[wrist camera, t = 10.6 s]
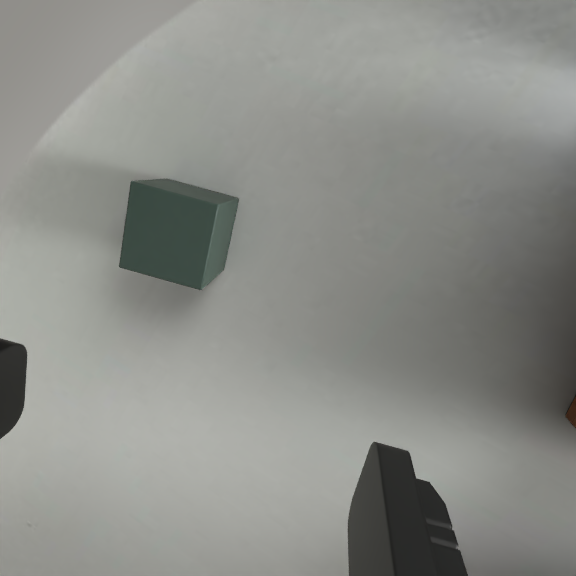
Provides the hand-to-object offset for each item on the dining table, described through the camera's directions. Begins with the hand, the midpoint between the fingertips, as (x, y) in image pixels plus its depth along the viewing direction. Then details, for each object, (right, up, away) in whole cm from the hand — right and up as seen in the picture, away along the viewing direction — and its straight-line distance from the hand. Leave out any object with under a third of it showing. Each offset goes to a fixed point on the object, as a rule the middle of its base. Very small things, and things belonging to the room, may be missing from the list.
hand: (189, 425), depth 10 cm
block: (-3, +7, +16) cm, 17 cm away
